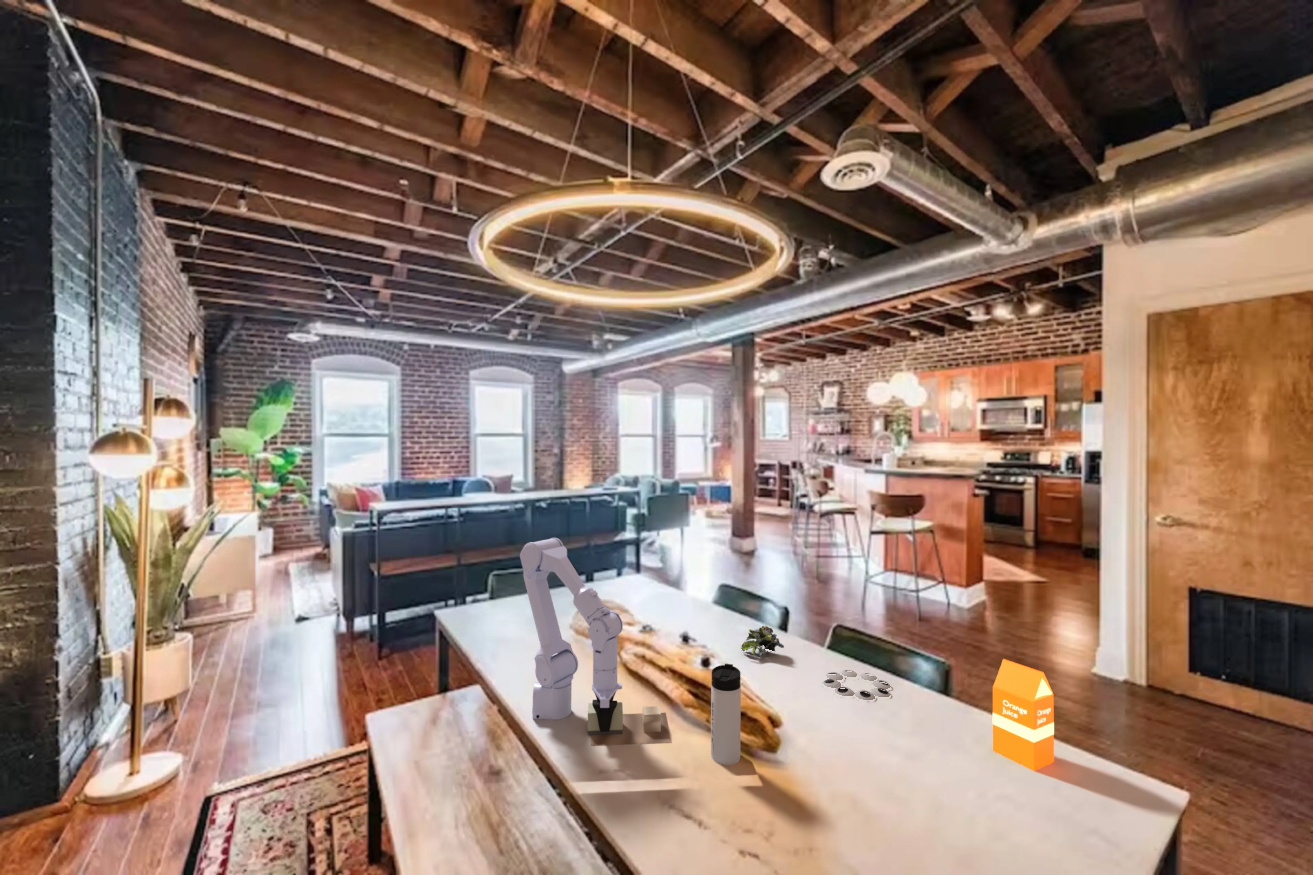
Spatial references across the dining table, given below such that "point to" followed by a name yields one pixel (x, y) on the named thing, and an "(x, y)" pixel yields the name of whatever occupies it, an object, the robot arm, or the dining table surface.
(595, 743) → the walnut board
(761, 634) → the passion flower
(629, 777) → the dining table surface
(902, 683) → the dining table surface
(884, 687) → the silver black segmented ring
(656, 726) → the birch offcut
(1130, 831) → the dining table surface
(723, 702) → the travel mug
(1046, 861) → the dining table surface
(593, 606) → the robot arm
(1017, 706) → the orange juice
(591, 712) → the block
